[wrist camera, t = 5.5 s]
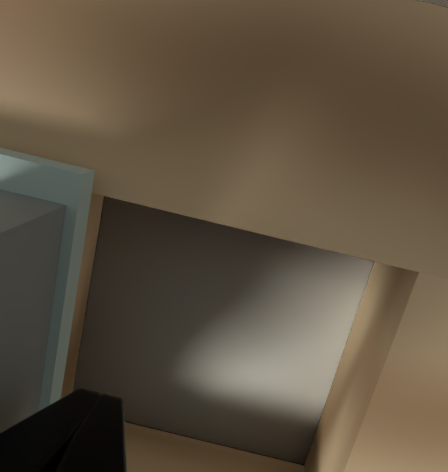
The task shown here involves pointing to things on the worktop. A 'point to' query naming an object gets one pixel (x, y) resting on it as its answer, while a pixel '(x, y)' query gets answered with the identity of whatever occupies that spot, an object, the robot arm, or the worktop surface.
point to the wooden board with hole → (266, 177)
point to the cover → (38, 276)
